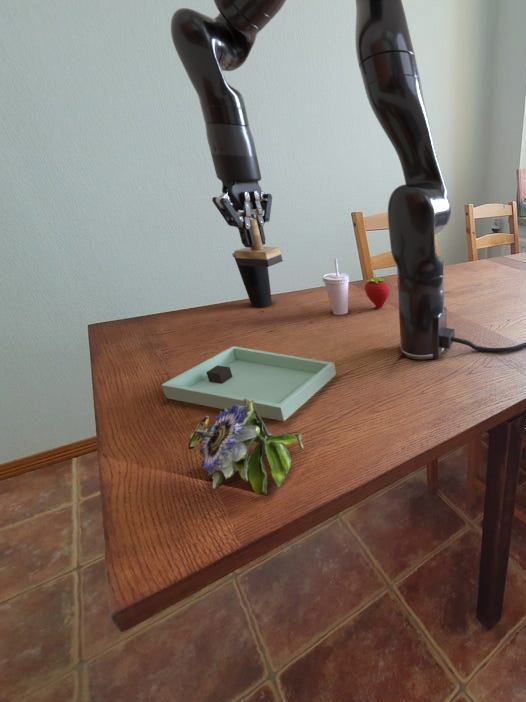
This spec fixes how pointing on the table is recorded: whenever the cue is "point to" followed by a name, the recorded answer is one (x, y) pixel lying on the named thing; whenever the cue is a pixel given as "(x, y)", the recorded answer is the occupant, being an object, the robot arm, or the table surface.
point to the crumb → (219, 374)
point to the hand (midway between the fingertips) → (255, 245)
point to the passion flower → (243, 447)
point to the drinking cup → (256, 284)
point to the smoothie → (337, 290)
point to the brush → (258, 251)
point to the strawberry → (377, 291)
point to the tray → (253, 382)
